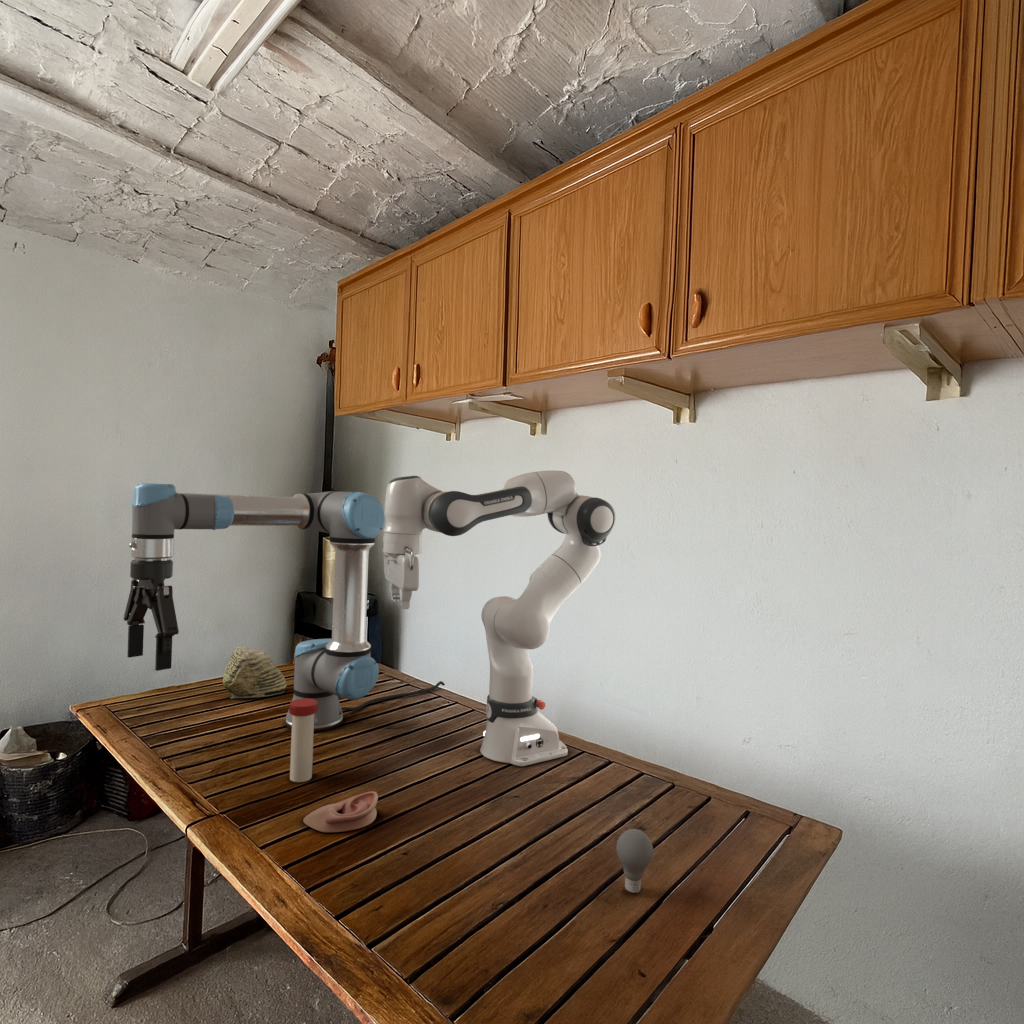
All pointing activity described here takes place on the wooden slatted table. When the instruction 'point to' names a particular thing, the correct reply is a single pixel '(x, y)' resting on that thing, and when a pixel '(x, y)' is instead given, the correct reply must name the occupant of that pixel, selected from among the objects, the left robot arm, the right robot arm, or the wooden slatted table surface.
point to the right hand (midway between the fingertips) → (400, 605)
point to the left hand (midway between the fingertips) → (148, 662)
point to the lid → (303, 707)
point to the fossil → (252, 674)
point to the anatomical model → (344, 814)
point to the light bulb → (634, 857)
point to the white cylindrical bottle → (301, 748)
